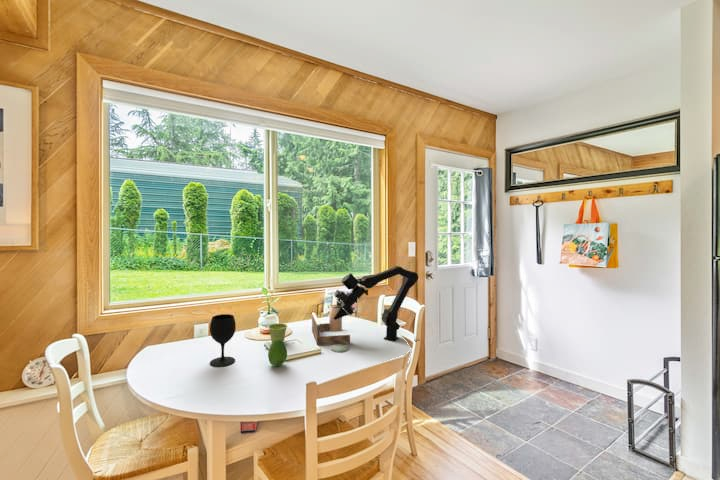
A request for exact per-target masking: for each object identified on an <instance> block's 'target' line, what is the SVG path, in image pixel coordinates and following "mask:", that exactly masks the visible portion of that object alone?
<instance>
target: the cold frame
mask: <svg viewBox="0 0 720 480" xmlns="http://www.w3.org/2000/svg"><path fill="white" fill-rule="evenodd" d="M311 315H312V316H311V332H312V334H313V338H314V341H315V343H316V345H317V346H323V345H324V346H325V345H337V344H342V345H344V344H351V335H350V334H342V335H322V336H320V332H326V331H330V330H329V324H330V322H328V323H320V321H319V318H318V317H317V314H316V313H315V312H311ZM330 332H331V331H330Z"/></svg>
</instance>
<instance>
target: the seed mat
mask: <svg viewBox="0 0 720 480" xmlns="http://www.w3.org/2000/svg"><path fill="white" fill-rule="evenodd" d="M349 348H350V347H349V346H348V345H346V344H332V345H331V346H330V351H332V352H334V353H344V352H347V351H349Z"/></svg>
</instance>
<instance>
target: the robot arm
mask: <svg viewBox="0 0 720 480" xmlns="http://www.w3.org/2000/svg"><path fill="white" fill-rule="evenodd" d="M398 275H399V276H401V277H402V282H401V286H400V287H399V290H398V292H397V293H396V296H395V297H394V299H393V301H392V303H391V305H390V307H389V308H388V309H387V308H384V310H383V313H382V314H381V321H382V323H383V324H384V326H386V331H385V333H386V336H385V337H383V340H387V341H392V342H396V341H397V340H399V339H400V337H399V336H398V330H400V327H401V326H400V324H399V323H398V322H397V321H398V313H399V310H400V308H401V306H402V305H403V302H404V300H405V299H406V296H408V295H407V294H408V293H409V290H410V289H412V287H413V286H414V285H415V284H416V283H417V282H418V279H419V275H418V273H417V272H415V271H411V270H407V269H405V268H403V267H401V266H399V265H395V266H394V267H392V268H389V269H387V270H384V271H382V272H379V273H376V274H369V275H364V276H362V277H361V278H356V277H355V276H354V275H353V273H348V274H347V275H345V276H344V277H343V278H342V279H341V280H340V281H341V284H342V285H344V287H345V288H346V289H348V290H351V291H350V292H345V291H343V290H338V289H337V290H336V291H335V292H334V297H335V298H336V305H341V306H342V307H341V306H340V310H339V311H338V313H337V314H336V315H335V317H334V319H335V320H336V319H338V318H341V317H342V318H344V317H346V316H352V315H353V314H354V309H353V305H355V304H357V303H358V300H360V298H361V297H362V296H363V295H364V294H365V295H366V296H369V289H371V288H373V287H376V285H378V284H379V283H381V282H382V281H385V280H388V279H390V278H393V277H395V276H398ZM365 288H366V289H365Z"/></svg>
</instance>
